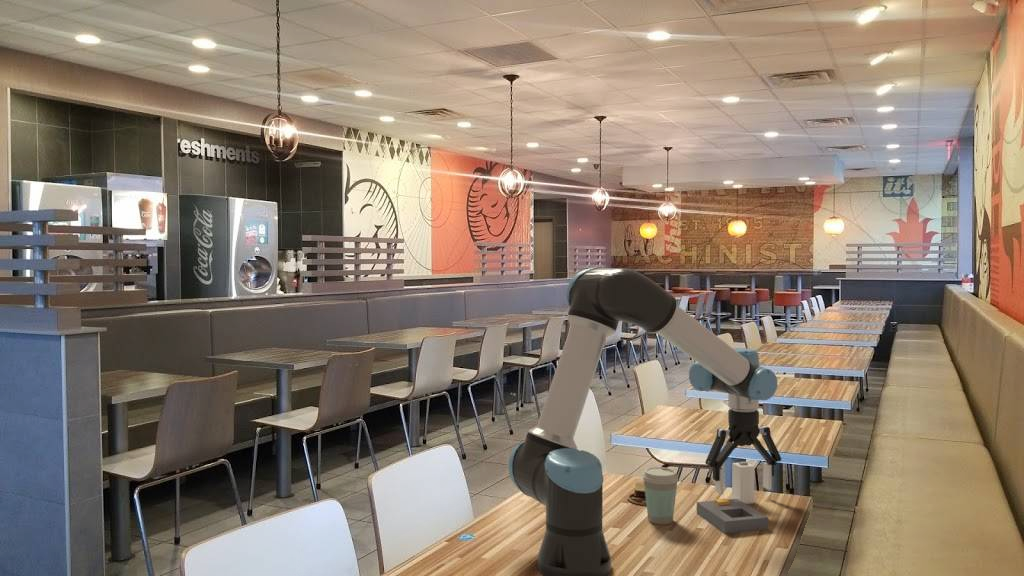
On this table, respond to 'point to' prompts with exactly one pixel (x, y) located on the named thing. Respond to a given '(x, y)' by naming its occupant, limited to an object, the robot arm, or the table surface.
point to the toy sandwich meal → (638, 494)
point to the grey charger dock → (732, 516)
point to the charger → (743, 482)
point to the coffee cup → (660, 494)
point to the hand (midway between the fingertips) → (743, 490)
